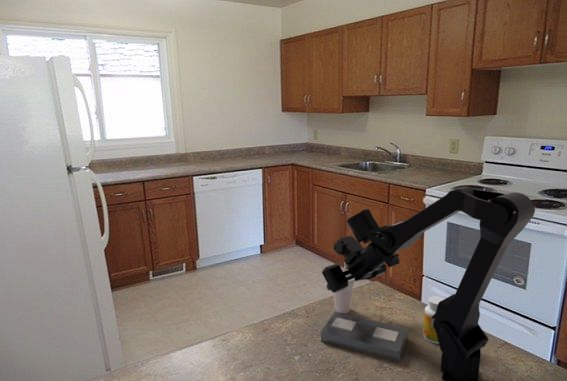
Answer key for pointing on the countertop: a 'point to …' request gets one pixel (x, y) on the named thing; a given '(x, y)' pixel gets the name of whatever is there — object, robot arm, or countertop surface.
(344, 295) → the smoothie
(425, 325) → the supplement bottle
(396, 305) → the countertop surface
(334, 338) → the label box
